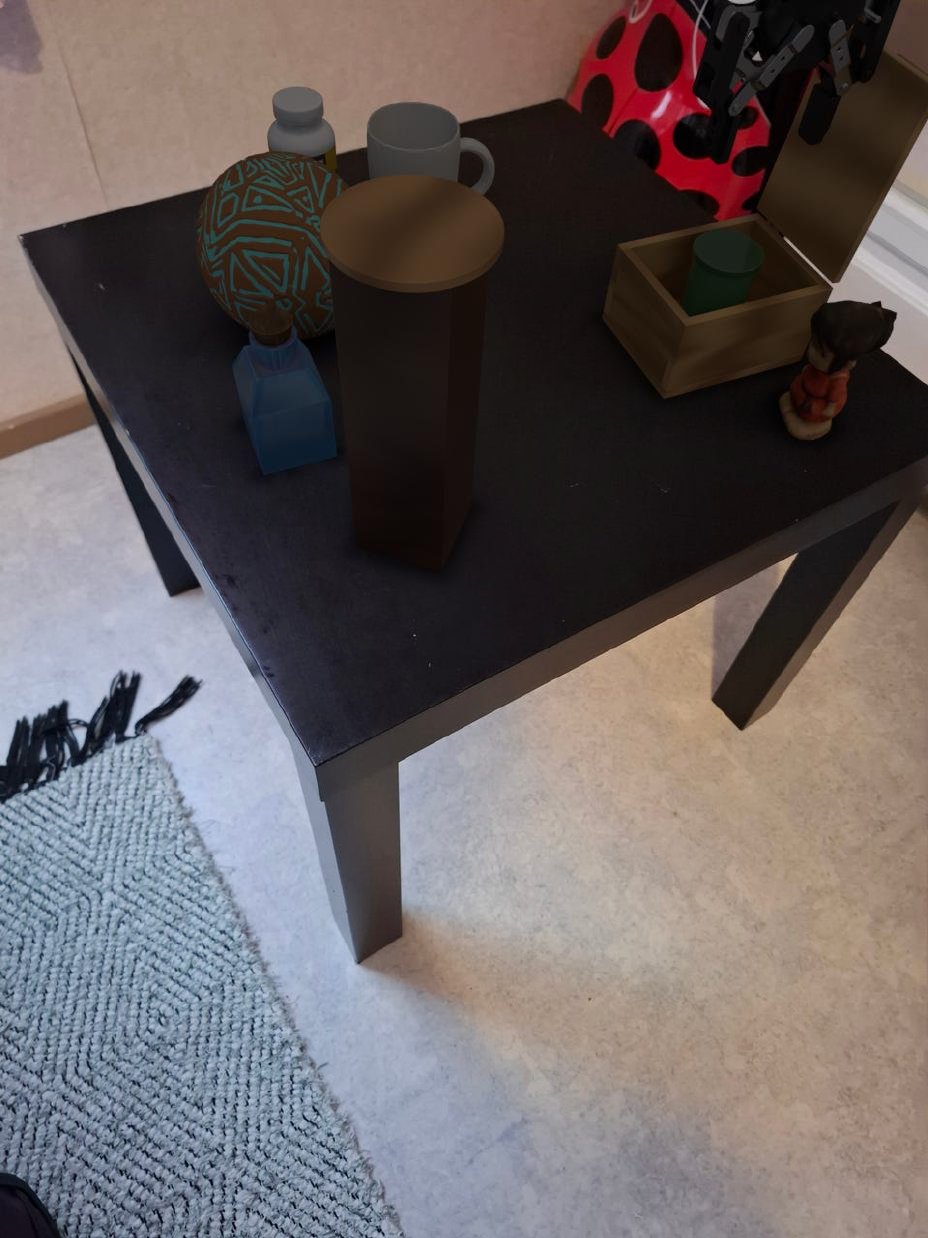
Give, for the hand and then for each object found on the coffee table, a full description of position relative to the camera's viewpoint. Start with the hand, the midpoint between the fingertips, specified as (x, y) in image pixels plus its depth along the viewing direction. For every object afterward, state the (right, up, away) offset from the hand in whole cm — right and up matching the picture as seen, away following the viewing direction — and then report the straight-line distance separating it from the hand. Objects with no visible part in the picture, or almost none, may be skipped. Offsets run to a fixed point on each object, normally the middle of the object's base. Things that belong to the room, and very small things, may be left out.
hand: (762, 149), depth 68 cm
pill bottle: (-39, +6, +24) cm, 46 cm away
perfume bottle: (-38, -21, +6) cm, 44 cm away
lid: (+7, +1, +4) cm, 8 cm away
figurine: (+7, -19, +10) cm, 22 cm away
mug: (-27, +5, +24) cm, 36 cm away
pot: (-1, -9, +14) cm, 17 cm away
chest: (-1, -10, +15) cm, 18 cm away
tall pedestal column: (-27, -29, +1) cm, 40 cm away
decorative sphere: (-39, -9, +14) cm, 42 cm away
